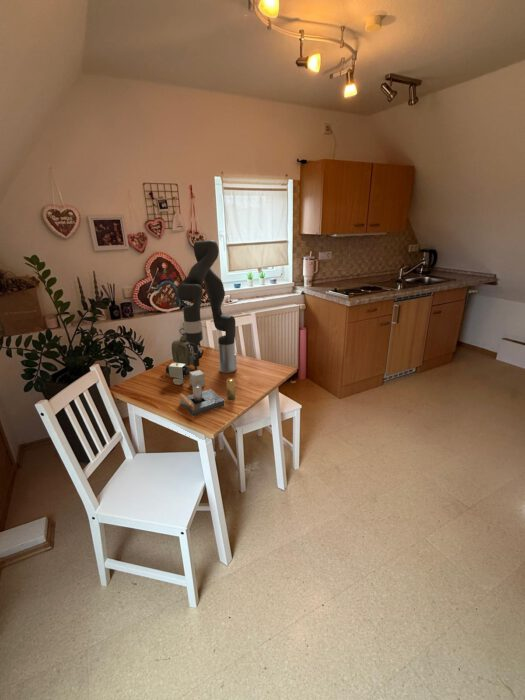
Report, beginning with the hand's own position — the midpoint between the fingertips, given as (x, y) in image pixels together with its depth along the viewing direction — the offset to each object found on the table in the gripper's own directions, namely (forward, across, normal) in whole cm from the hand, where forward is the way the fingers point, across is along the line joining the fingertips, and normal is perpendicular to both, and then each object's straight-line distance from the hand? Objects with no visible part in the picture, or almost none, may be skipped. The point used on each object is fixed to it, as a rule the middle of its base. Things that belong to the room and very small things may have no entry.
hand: (196, 365), depth 147 cm
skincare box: (+20, +18, -8) cm, 28 cm away
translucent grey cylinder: (+20, -2, +2) cm, 20 cm away
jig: (+20, -2, 0) cm, 20 cm away
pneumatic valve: (+20, +26, -1) cm, 33 cm away
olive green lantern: (+20, +42, -12) cm, 48 cm away
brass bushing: (+20, -5, -14) cm, 25 cm away
